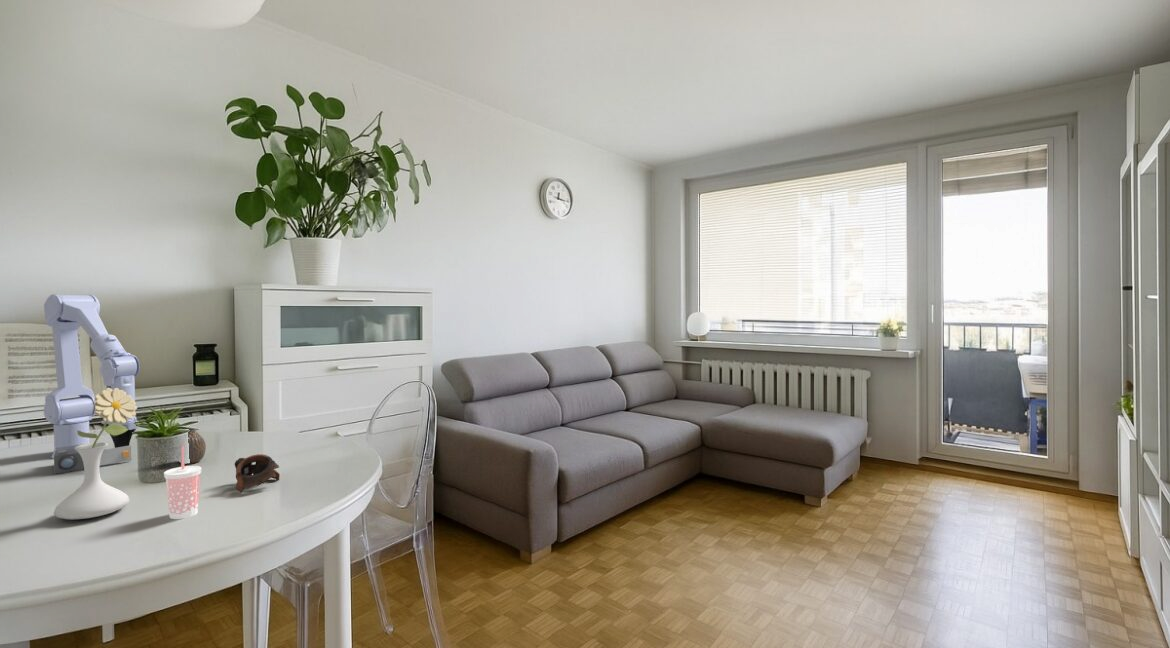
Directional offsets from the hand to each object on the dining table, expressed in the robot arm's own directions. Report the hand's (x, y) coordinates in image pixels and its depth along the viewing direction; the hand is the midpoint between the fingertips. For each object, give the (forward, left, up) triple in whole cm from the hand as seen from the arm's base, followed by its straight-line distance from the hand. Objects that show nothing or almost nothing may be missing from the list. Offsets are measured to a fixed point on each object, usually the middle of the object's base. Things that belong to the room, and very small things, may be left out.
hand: (122, 453), depth 147 cm
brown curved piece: (+43, +23, -3) cm, 49 cm away
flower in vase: (+42, -4, -3) cm, 42 cm away
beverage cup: (+54, +9, -3) cm, 55 cm away
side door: (+2, -2, -2) cm, 3 cm away
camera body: (-2, -10, -2) cm, 10 cm away
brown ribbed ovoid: (+11, +14, -3) cm, 18 cm away
